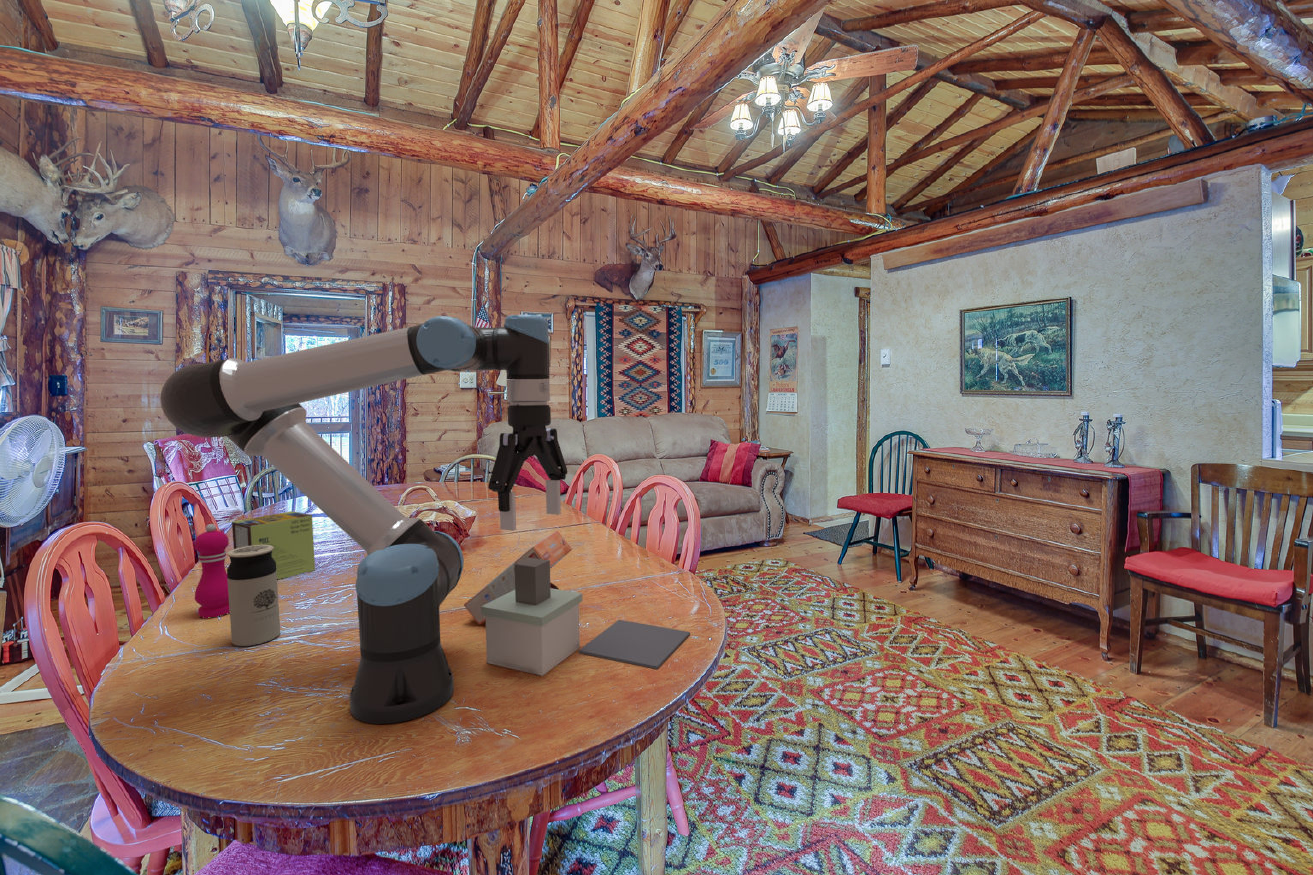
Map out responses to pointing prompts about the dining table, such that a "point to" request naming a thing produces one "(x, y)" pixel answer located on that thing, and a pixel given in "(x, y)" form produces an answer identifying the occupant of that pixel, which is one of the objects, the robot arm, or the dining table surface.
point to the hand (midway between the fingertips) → (532, 521)
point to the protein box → (280, 540)
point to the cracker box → (505, 581)
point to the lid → (532, 596)
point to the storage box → (532, 642)
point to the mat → (636, 643)
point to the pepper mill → (212, 573)
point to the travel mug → (253, 595)
